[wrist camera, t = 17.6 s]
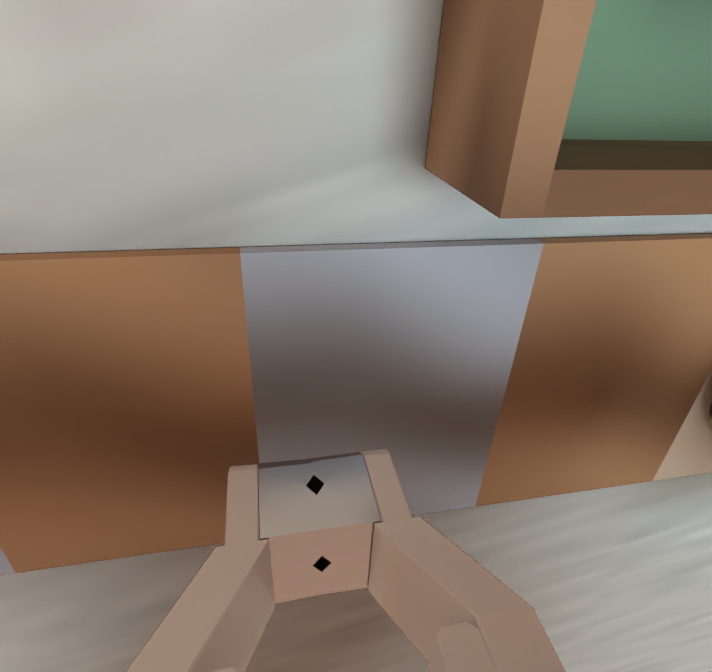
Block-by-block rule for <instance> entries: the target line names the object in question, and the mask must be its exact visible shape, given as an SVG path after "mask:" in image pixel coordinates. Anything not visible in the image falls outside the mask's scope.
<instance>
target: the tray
mask: <svg viewBox="0 0 712 672" xmlns="http://www.w3.org/2000/svg"><path fill="white" fill-rule="evenodd" d="M425 169H427V170H428V171H430V172H431V173H433V174H434V175H436V176H437V177H439V178H440V179H442V180H443V181H445V182H446V183H448V184H449V185H451V186H452V187H454V188H455V189H457V190H458V191H460V192H461V193H463V194H464V195H466V196H467V197H469V198H470V199H472V200H473V201H475V202H476V203H478V204H479V205H481V206H482V207H483V208H485V209H486V210H488V211H489V212H491V213H492V214H494V215H495V216H497V217H498V218H540V217H590V216H639V215H689V214H712V0H444V7H443V16H442V25H441V33H440V42H439V51H438V60H437V69H436V77H435V86H434V95H433V104H432V113H431V122H430V130H429V139H428V148H427V157H426V166H425Z"/></svg>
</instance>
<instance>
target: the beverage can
mask: <svg viewBox="0 0 712 672" xmlns="http://www.w3.org/2000/svg"><path fill="white" fill-rule="evenodd" d="M709 423H710V427H711V429H712V404H711V406H710V411H709Z"/></svg>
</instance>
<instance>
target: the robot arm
mask: <svg viewBox="0 0 712 672" xmlns="http://www.w3.org/2000/svg"><path fill="white" fill-rule="evenodd" d="M364 588H368V591H369V592H370V594H371V595H372V596H373V597H374V598H375V599H376V601H377V602H378V603H379V604H380V605H381V607H382V608H383V609H384V610H385V611H386V613H387V614H388V615H389V616H390V617H391V619H392V620H393V621H394V622H395V623H396V625H397V626H398V627H399V628H400V629H401V631H402V632H403V633H404V634H405V635H406V637H407V638H408V639H409V640H410V641H411V642H412V644H413V645H414V646H415V647H416V648H417V650H418V651H419V652H420V653H421V654H422V656H423V657H424V658H425V659H426V660H427V662H428V663H429V664H430V666H429V670H428V672H565V670H564V668H563V666H562V664H561V662H560V660H559V658H558V656H557V654H556V652H555V650H554V648H553V646H552V644H551V642H550V640H549V638H548V636H547V634H546V632H545V631H544V629H543V627H542V625H541V623H540V621H539V619H538V617H537V615H536V613H535V611H534V609H533V607H532V606H531V605H529V604H528V603H527V602H526V601H524V600H523V599H522V598H521V597H519V596H518V595H517V594H516V593H514V592H513V591H512V590H511V589H509V588H508V587H507V586H506V585H505V584H503V583H502V582H501V581H500V580H498V579H497V578H496V577H495V576H493V575H492V574H491V573H490V572H488V571H487V570H486V569H485V568H483V567H482V566H481V565H480V564H479V563H477V562H476V561H475V560H474V559H472V558H471V557H470V556H469V555H467V554H466V553H465V552H464V551H462V550H461V549H460V548H459V547H457V546H456V545H455V544H454V543H452V542H451V541H450V540H449V539H448V538H446V537H445V536H444V535H443V534H441V533H440V532H439V531H438V530H436V529H435V528H434V527H433V526H431V525H430V524H429V523H428V522H426V521H425V520H424V519H423V518H422V517H415V518H413V517H412V514H411V511H410V508H409V505H408V503H407V500H406V497H405V494H404V492H403V489H402V486H401V483H400V480H399V478H398V475H397V472H396V469H395V466H394V464H393V461H392V458H391V455H390V453H389V451H388V450H387V449H379V450H371V451H363V452H361V453H360V452H354V453H346V454H339V455H331V456H323V457H315V458H310V459H301V460H290V461H279V462H268V463H258V464H252V465H241V466H230V468H229V472H228V484H227V506H226V528H225V545H223V546H217V547H215V549H214V550H213V551H212V553H211V554H210V556H209V557H208V558H207V560H206V561H205V563H204V564H203V565H202V567H201V568H200V570H199V571H198V572H197V574H196V575H195V577H194V578H193V579H192V581H191V582H190V584H189V585H188V586H187V588H186V589H185V591H184V592H183V593H182V595H181V596H180V598H179V599H178V600H177V602H176V603H175V605H174V606H173V607H172V609H171V610H170V612H169V613H168V614H167V616H166V617H165V619H164V620H163V621H162V623H161V624H160V625H159V627H158V628H157V630H156V631H155V632H154V634H153V635H152V637H151V638H150V639H149V641H148V642H147V644H146V645H145V646H144V648H143V649H142V651H141V652H140V653H139V655H138V656H137V658H136V659H135V660H134V662H133V663H132V665H131V666H130V667H129V669H128V670H127V672H245V671H246V669H247V667H248V665H249V662H250V660H251V658H252V656H253V654H254V652H255V649H256V647H257V645H258V643H259V641H260V639H261V636H262V634H263V632H264V630H265V628H266V626H267V623H268V621H269V619H270V617H271V615H272V613H273V610H274V608H275V604H277V603H282V602H287V601H292V600H297V599H302V598H307V597H312V596H317V595H322V594H329V593H336V592H343V591H350V590H357V589H364ZM710 672H712V671H710Z"/></svg>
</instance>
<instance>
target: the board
mask: <svg viewBox="0 0 712 672" xmlns="http://www.w3.org/2000/svg"><path fill="white" fill-rule="evenodd" d="M711 404H712V233H708V234H674V235H640V236H606V237H572V238H539V239H505V240H471V241H437V242H403V243H369V244H336V245H302V246H268V247H234V248H200V249H166V250H133V251H99V252H65V253H31V254H0V575H4V574H11V573H18V572H25V571H32V570H39V569H46V568H53V567H60V566H67V565H74V564H81V563H87V562H94V561H101V560H108V559H115V558H122V557H129V556H136V555H143V554H150V553H157V552H164V551H170V550H177V549H184V548H191V547H198V546H205V545H212V544H219V543H225V528H226V506H227V484H228V472H229V468H230V466H241V465H252V464H258V463H268V462H279V461H290V460H301V459H310V458H315V457H323V456H331V455H339V454H346V453H354V452H360V453H361V452H363V451H371V450H379V449H387V450H388V451H389V453H390V455H391V458H392V461H393V464H394V466H395V469H396V472H397V475H398V478H399V480H400V483H401V486H402V489H403V492H404V494H405V497H406V500H407V503H408V505H409V508H410V511H411V514H412V516H413V515H419V514H426V513H433V512H440V511H447V510H454V509H461V508H468V507H475V506H482V505H489V504H496V503H502V502H509V501H516V500H523V499H530V498H537V497H544V496H551V495H558V494H565V493H572V492H579V491H585V490H592V489H599V488H606V487H613V486H620V485H627V484H634V483H641V482H648V481H655V480H662V479H668V478H675V477H682V476H689V475H696V474H703V473H710V472H712V429H711V427H710V423H709V411H710V406H711Z"/></svg>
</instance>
